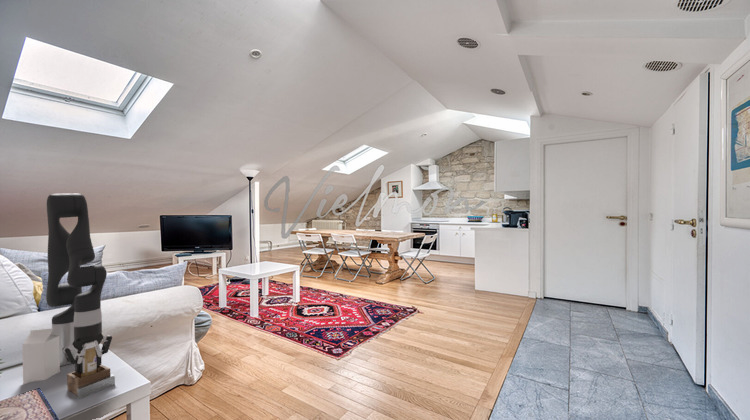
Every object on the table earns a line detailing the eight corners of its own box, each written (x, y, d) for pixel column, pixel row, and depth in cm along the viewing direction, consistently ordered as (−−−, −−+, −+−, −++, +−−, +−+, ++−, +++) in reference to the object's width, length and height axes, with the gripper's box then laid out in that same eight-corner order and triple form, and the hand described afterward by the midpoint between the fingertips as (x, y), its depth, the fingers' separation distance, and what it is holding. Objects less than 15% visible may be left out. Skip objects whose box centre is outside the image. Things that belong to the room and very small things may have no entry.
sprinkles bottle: (96, 380, 116) (95, 342, 116) (79, 384, 114) (78, 345, 114) (98, 374, 120) (97, 338, 120) (81, 378, 117) (81, 341, 117)
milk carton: (45, 383, 122) (44, 332, 122) (22, 385, 121) (22, 333, 121) (60, 373, 129) (59, 325, 129) (39, 375, 128) (38, 326, 128)
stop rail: (76, 397, 110) (76, 387, 110) (112, 383, 119) (112, 374, 119) (79, 399, 109) (79, 389, 109) (114, 385, 118) (114, 375, 118)
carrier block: (67, 389, 115) (67, 374, 115) (98, 378, 123) (98, 363, 123) (78, 396, 111) (78, 380, 111) (110, 383, 118) (110, 368, 118)
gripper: (66, 330, 109) (67, 382, 109) (116, 317, 121) (117, 364, 121) (57, 326, 112) (57, 376, 112) (107, 314, 125) (107, 359, 125)
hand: (88, 369), depth 117 cm, fingers closed on sprinkles bottle, 4 cm apart
